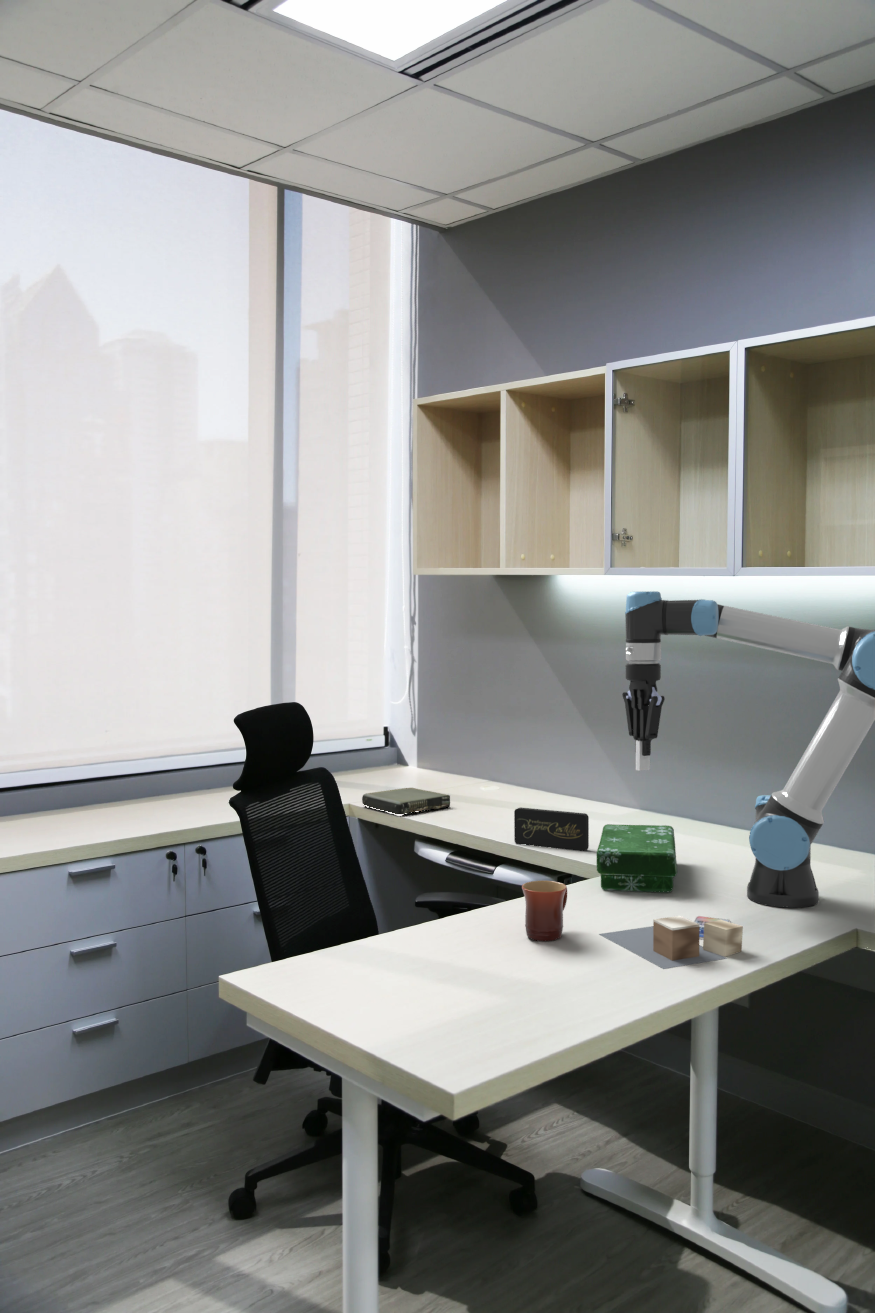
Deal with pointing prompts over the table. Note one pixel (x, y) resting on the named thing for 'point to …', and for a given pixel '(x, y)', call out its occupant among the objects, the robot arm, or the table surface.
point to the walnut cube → (676, 937)
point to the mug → (544, 909)
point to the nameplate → (551, 829)
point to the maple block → (722, 937)
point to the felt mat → (642, 946)
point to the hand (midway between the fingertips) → (642, 769)
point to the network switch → (406, 800)
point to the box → (637, 858)
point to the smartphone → (702, 920)
